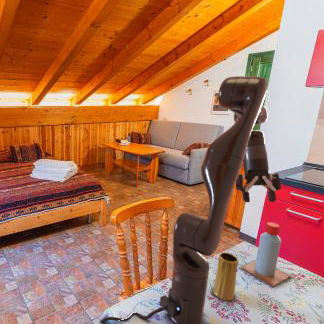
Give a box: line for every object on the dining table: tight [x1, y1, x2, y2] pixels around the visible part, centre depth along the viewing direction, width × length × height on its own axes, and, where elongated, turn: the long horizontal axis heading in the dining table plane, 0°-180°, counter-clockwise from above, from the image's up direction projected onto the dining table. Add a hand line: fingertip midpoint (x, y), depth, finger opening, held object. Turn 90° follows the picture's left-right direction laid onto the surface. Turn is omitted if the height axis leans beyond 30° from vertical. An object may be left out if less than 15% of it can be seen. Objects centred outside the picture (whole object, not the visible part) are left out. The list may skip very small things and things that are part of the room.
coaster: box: [240, 260, 291, 287], centre depth 94 cm, size 11×11×1 cm
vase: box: [212, 252, 239, 301], centre depth 82 cm, size 6×6×14 cm
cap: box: [265, 221, 281, 236], centre depth 90 cm, size 4×4×3 cm
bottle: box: [255, 231, 282, 277], centre depth 92 cm, size 6×6×19 cm
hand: (259, 202), depth 91 cm, fingers open, 8 cm apart
